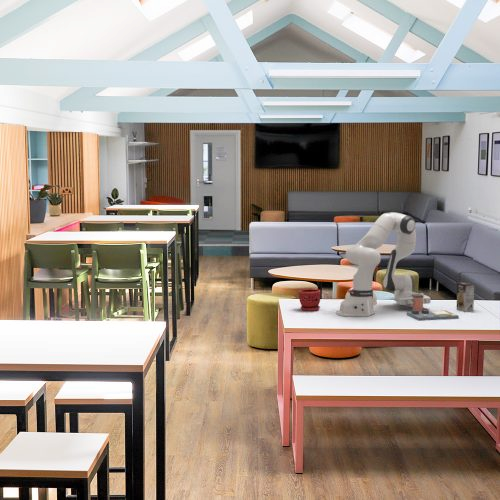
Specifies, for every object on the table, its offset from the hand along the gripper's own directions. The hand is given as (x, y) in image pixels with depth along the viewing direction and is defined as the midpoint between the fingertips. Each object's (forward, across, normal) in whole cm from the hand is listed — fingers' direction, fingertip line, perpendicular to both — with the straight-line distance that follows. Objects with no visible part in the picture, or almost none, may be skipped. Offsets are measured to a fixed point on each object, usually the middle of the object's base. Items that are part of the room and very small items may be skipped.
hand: (418, 302), depth 456 cm
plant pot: (-22, -60, +6) cm, 64 cm away
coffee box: (+1, +29, +6) cm, 30 cm away
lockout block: (-1, 0, +6) cm, 6 cm away
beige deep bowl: (-36, -23, +6) cm, 43 cm away
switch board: (+15, +2, +6) cm, 16 cm away
